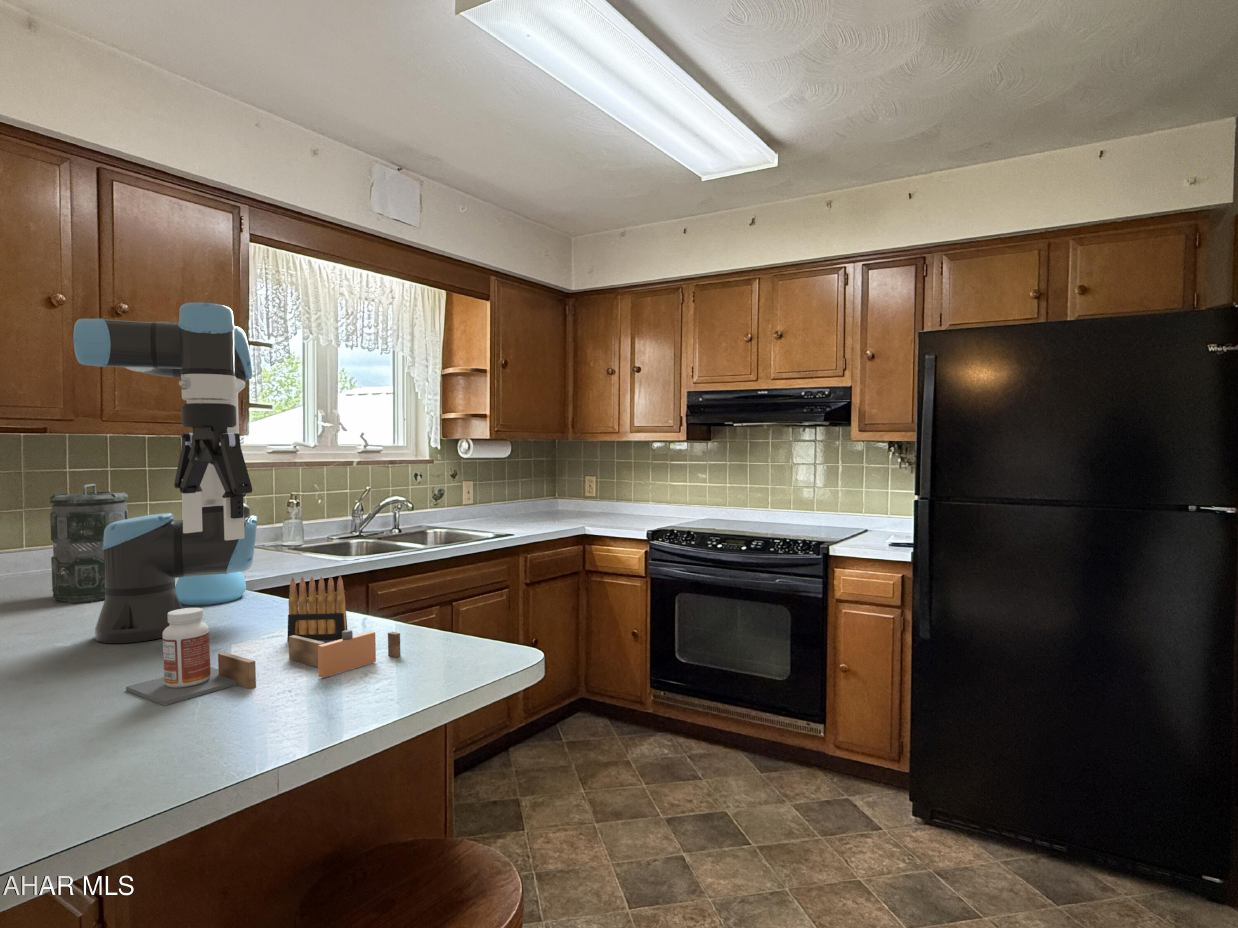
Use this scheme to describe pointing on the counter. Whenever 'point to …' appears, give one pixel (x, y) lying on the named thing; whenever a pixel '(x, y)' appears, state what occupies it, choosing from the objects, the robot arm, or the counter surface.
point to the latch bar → (346, 653)
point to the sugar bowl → (210, 588)
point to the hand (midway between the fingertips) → (213, 535)
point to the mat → (179, 689)
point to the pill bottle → (186, 649)
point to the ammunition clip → (317, 611)
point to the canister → (82, 542)
